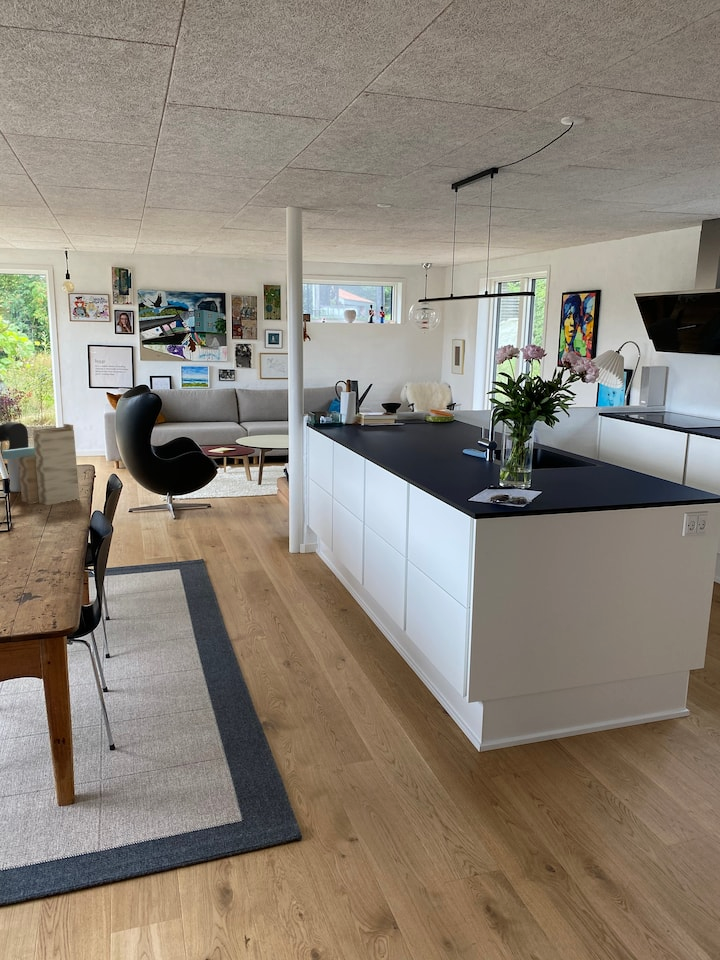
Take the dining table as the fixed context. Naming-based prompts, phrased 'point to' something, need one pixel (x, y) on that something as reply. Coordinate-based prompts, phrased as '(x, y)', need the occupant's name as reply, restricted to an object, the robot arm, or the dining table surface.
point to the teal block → (18, 453)
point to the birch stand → (56, 464)
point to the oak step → (28, 479)
